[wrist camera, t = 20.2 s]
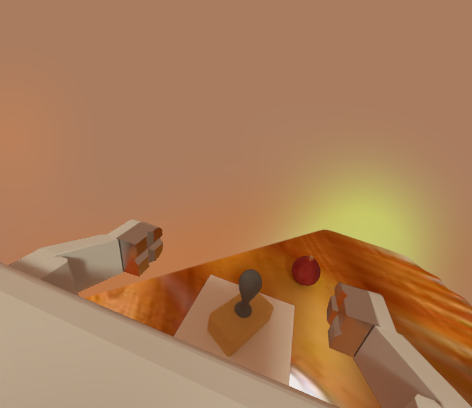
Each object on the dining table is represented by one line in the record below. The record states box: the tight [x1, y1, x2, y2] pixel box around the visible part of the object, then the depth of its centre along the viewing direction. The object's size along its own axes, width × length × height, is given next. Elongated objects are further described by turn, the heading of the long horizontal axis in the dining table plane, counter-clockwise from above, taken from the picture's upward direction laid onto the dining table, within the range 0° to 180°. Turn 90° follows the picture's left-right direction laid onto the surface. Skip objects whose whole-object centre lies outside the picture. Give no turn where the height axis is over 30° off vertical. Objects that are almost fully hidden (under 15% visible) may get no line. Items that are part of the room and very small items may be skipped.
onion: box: [292, 256, 320, 286], centre depth 46 cm, size 6×6×8 cm
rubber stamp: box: [207, 269, 273, 357], centre depth 34 cm, size 10×6×12 cm, turn 133°
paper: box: [174, 275, 295, 386], centre depth 37 cm, size 18×16×1 cm
